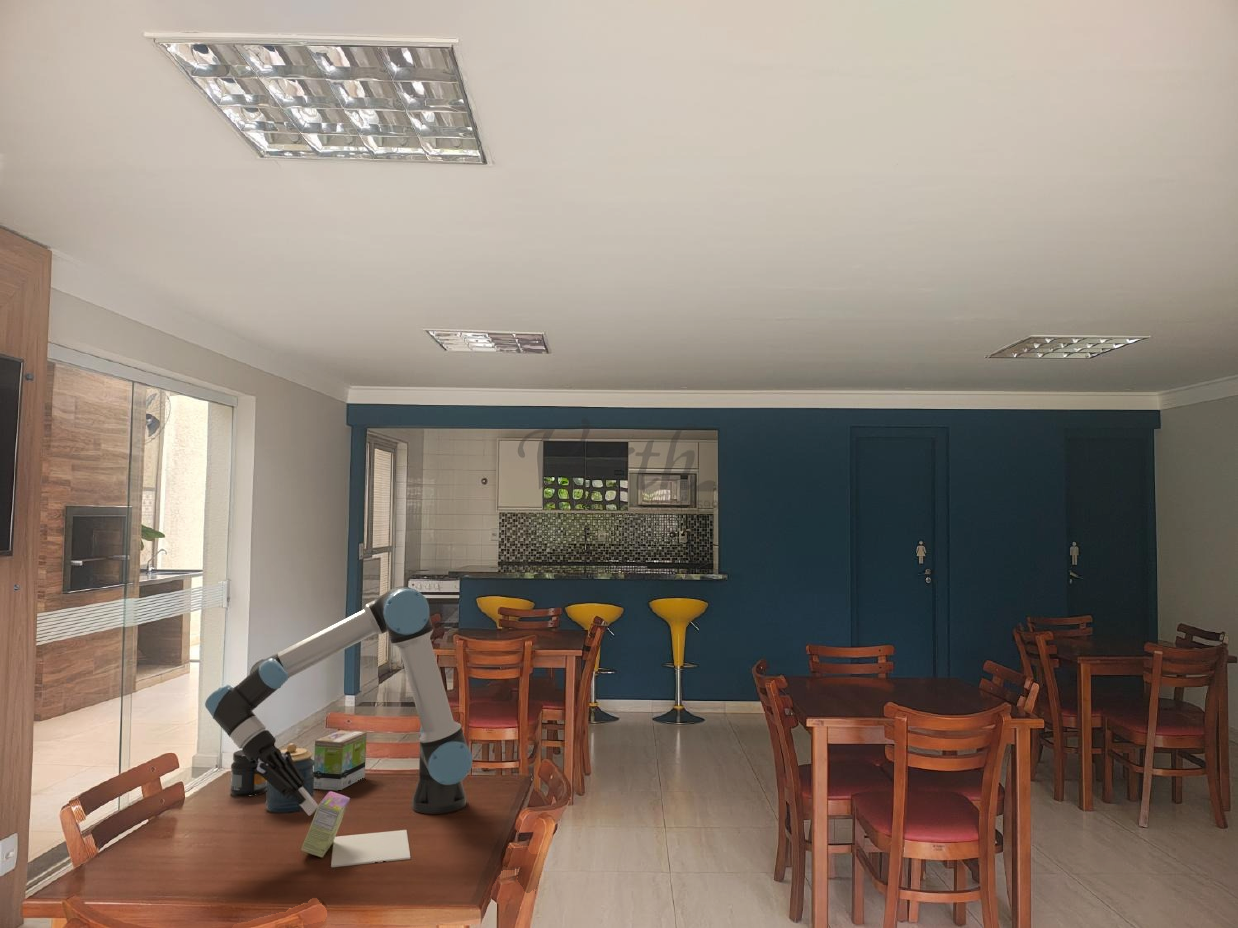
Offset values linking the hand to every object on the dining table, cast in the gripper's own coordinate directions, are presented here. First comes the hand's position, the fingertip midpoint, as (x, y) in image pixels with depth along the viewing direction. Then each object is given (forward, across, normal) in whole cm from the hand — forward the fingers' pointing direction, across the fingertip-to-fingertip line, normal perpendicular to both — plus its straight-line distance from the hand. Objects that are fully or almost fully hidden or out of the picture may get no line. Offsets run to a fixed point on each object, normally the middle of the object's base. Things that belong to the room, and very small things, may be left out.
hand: (314, 810), depth 209 cm
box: (+7, 0, -6) cm, 9 cm away
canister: (-10, -32, -24) cm, 41 cm away
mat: (+16, -4, +2) cm, 17 cm away
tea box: (-8, -55, -22) cm, 60 cm away
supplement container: (-24, -42, -38) cm, 62 cm away
